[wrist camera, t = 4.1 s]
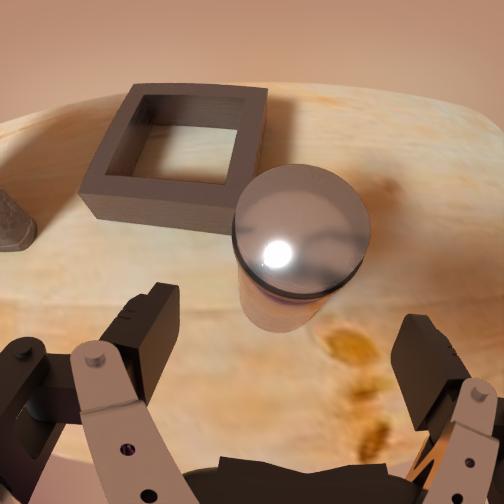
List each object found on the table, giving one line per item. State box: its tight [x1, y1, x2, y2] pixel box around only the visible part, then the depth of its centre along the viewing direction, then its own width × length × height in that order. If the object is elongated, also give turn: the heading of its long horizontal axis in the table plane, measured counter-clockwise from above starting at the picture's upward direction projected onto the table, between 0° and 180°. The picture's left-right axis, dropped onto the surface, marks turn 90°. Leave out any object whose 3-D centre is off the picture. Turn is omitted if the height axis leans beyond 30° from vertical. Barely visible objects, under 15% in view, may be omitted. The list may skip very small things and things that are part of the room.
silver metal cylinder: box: [232, 164, 370, 333], centre depth 16 cm, size 5×5×10 cm
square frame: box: [78, 83, 268, 235], centre depth 22 cm, size 11×11×4 cm
